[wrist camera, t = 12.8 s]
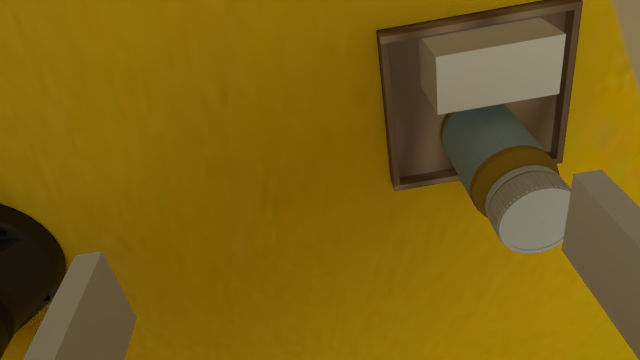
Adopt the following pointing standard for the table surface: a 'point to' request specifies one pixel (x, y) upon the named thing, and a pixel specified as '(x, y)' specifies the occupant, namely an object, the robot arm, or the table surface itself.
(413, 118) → the tray
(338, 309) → the table surface
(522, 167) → the bottle
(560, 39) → the carton
